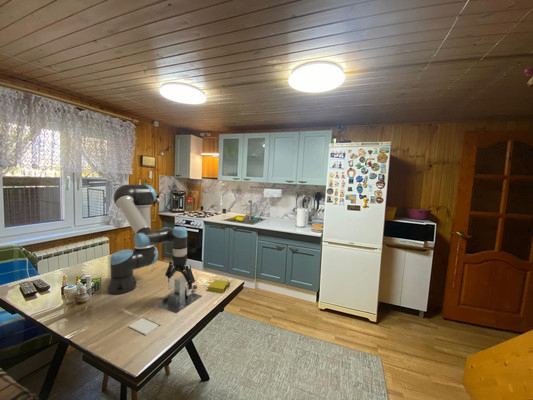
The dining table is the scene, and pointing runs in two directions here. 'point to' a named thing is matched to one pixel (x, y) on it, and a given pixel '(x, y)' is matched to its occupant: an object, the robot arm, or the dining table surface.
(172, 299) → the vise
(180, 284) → the gray rectangular block
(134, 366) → the dining table surface
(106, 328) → the dining table surface
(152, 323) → the mat
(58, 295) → the dining table surface
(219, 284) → the bracket
